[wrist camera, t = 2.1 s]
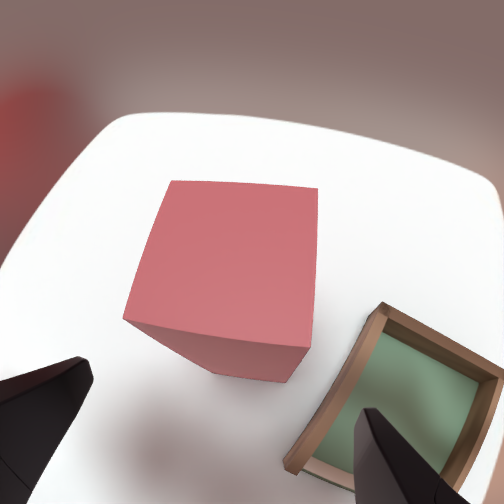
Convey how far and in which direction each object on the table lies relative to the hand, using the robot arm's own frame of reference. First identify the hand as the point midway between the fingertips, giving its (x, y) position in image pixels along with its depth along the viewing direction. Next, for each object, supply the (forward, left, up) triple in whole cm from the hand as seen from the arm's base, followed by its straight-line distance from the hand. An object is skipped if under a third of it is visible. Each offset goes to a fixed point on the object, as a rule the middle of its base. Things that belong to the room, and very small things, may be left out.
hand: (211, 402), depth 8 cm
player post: (+4, +2, -11) cm, 12 cm away
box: (+4, -11, -11) cm, 16 cm away
